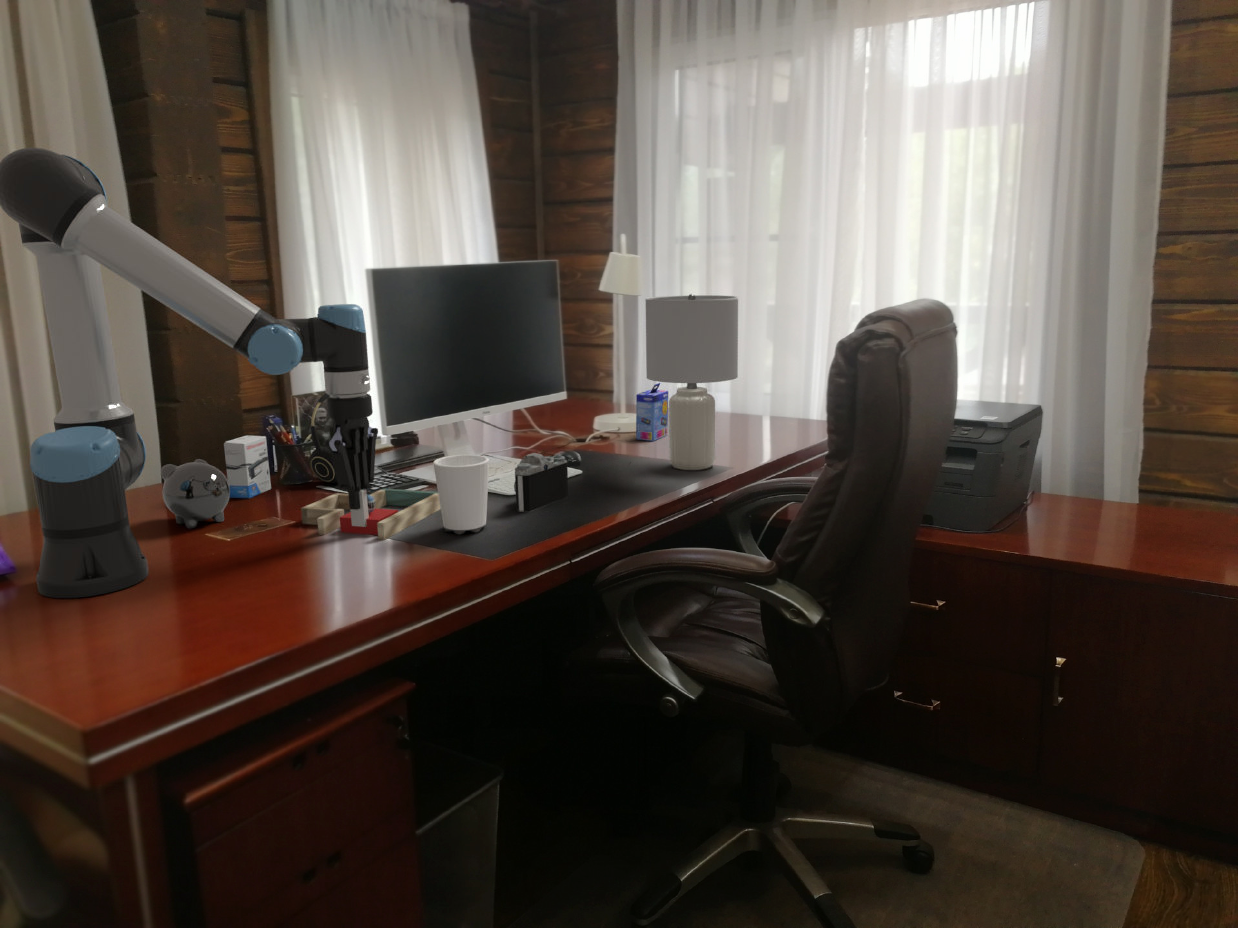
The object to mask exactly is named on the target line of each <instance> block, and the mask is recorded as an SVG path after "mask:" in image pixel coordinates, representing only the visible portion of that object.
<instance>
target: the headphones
mask: <svg viewBox="0 0 1238 928" xmlns="http://www.w3.org/2000/svg"><path fill="white" fill-rule="evenodd" d="M329 396H330V395H328V394H327V393H326V392H325V393H324V394H323V395H322V396H321V397H319V399H318V400H317V404H316V405H315V407H314V409H313V411H312V415H311V422H310V430H311V436H312V437H311V438H312V441H313V444H314V447H315V449H314V450H312V452H311V454H310V456H309V462H310V467H311V468H310V469H311V470H312V472H313V474H314V475H315V476H316V477H317V478H319V480H321V481H323V482H326V483H329V484H336V483H337V484H338V481H337V478H336V474H335V470H334V466H333V462H332V458H331V454H330V452H329V450H328V448H327V447H326V446H321V443H320V441H319V438H318V434H317V430H316V425H315V418H316V414H317V411H318V410H319V409H318V408H319V407H320V405H321V404H323V402H324V401H327V399H328V397H329Z"/></svg>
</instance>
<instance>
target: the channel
mask: <svg viewBox="0 0 1238 928" xmlns="http://www.w3.org/2000/svg"><path fill="white" fill-rule="evenodd" d="M369 495H371V496H372V497H373V498H374V500H375V508H376V509H382V508H384V507H385V506H398V507H400V506H401V507H405V508H404V509H401V510H400V511H398V513H396V514H394V515H392V516H390V517H388V518H386V519H384V520H382V521H380V522H378V523H377V527H378V535H377V538H378V540H384V541H385V540H387V539H389V538H390V537H393V536H394V535H396V534H398V533H400V532H401V531H403V530H405V529H407V528H409V527H410V526H412V525H415V524H416V523H418V522H420V521H421V520H423V519H426V518H427V517H429V516H430V515H432V514H434V513H436V512H438V511H441V507H440V501H439V495H438V491H431V490H430V491H429V490H428V491H427V490H416V489H415V490H413V489H395V488H381V489H379V490H377V491H375V492H372V493H371V494H370V493H369ZM300 510H301V511H300V512H301V522H302V523H301V524H302V525H314V526H317V531H318V535H321V536H325V535H327V534H329V533H331V532H334V531H336V530H338V529H339V528H340V517H341V516H343V515H345V514H347V513H350V512H351V510H350V506H349V496H348V493H342V492H341V493H340V492H336V493H334V494H331V495H328V496H326V497H324V498H322V499H319V500H317V501H315V502H313V503H310V504H307V505H305V506H303V507H301V508H300ZM340 529H341V528H340Z"/></svg>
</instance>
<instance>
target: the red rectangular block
mask: <svg viewBox="0 0 1238 928" xmlns="http://www.w3.org/2000/svg"><path fill="white" fill-rule="evenodd" d="M367 497H368V514H369V518H368V519H366V521H367V526H366V527H361V526H352V521H351V512H350V513H347V514H345V515H343V516H341V517H340V533H345V534H358V535H359V534H360V535H372V536H378V527H377V523H378V522H380V521H382V520H384V519H386V518H388V517H390V516H392V515H394V514H396V513H398V512H399V510H398V509H387V508H379V509H376V508H375V500H374V498H373V497H372V496H371V495H370V494H367Z"/></svg>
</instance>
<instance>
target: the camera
mask: <svg viewBox="0 0 1238 928" xmlns="http://www.w3.org/2000/svg"><path fill="white" fill-rule="evenodd" d="M568 472H569V471H568V460H567V459H566V457H565V456H563V455H561V454H559V453H556V454H555V455H553V456H544V455H542V454H541V453H536V452H532V453H529V454H526V455H524V456H523V458H522V459H521V460H520V461H519V463H518V464H517V465H516V467H514V484H513V489H514V492H515V500H516V501H515V503H516V505H515V506H516V511H517V512H520V513H531V512H533V511H536V510H539V509H541V508H544V507H546V506H549V505H552V504H553V503H554V504H555V503H556V502H559V501H562V500H564V499H566V498H567V499H568V498H569V478H568V476H569V475H568V474H569V473H568Z"/></svg>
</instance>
